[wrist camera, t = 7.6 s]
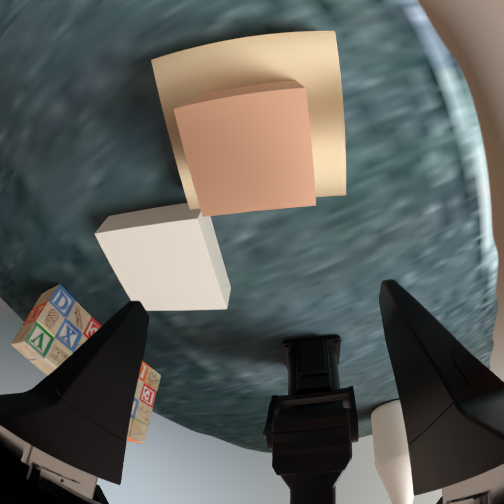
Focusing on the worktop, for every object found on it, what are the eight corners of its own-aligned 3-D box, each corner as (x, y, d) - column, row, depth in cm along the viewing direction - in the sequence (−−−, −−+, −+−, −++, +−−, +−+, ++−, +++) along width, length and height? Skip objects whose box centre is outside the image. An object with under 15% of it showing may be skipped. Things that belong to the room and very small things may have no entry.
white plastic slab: (231, 284, 26) (227, 309, 24) (147, 288, 28) (137, 310, 25) (207, 197, 21) (197, 218, 18) (110, 213, 22) (94, 233, 20)
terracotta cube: (305, 164, 16) (316, 205, 12) (221, 173, 16) (202, 216, 13) (295, 80, 13) (305, 87, 9) (203, 93, 13) (173, 108, 10)
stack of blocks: (41, 292, 30) (0, 362, 21) (60, 281, 28) (12, 363, 19) (136, 376, 42) (117, 440, 32) (162, 375, 40) (144, 445, 30)
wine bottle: (365, 417, 48) (369, 544, 24) (377, 401, 42) (386, 549, 18) (405, 410, 47) (415, 532, 23) (422, 393, 41) (438, 532, 17)
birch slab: (337, 176, 19) (346, 194, 17) (200, 189, 21) (189, 209, 18) (325, 36, 13) (334, 30, 11) (169, 59, 15) (151, 59, 12)
